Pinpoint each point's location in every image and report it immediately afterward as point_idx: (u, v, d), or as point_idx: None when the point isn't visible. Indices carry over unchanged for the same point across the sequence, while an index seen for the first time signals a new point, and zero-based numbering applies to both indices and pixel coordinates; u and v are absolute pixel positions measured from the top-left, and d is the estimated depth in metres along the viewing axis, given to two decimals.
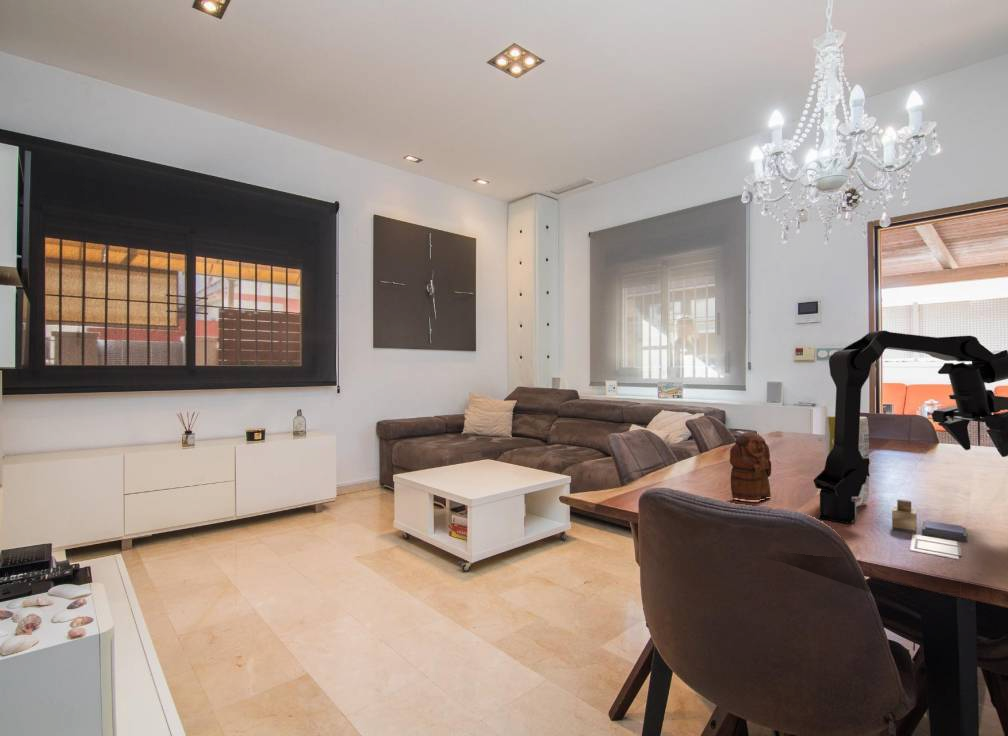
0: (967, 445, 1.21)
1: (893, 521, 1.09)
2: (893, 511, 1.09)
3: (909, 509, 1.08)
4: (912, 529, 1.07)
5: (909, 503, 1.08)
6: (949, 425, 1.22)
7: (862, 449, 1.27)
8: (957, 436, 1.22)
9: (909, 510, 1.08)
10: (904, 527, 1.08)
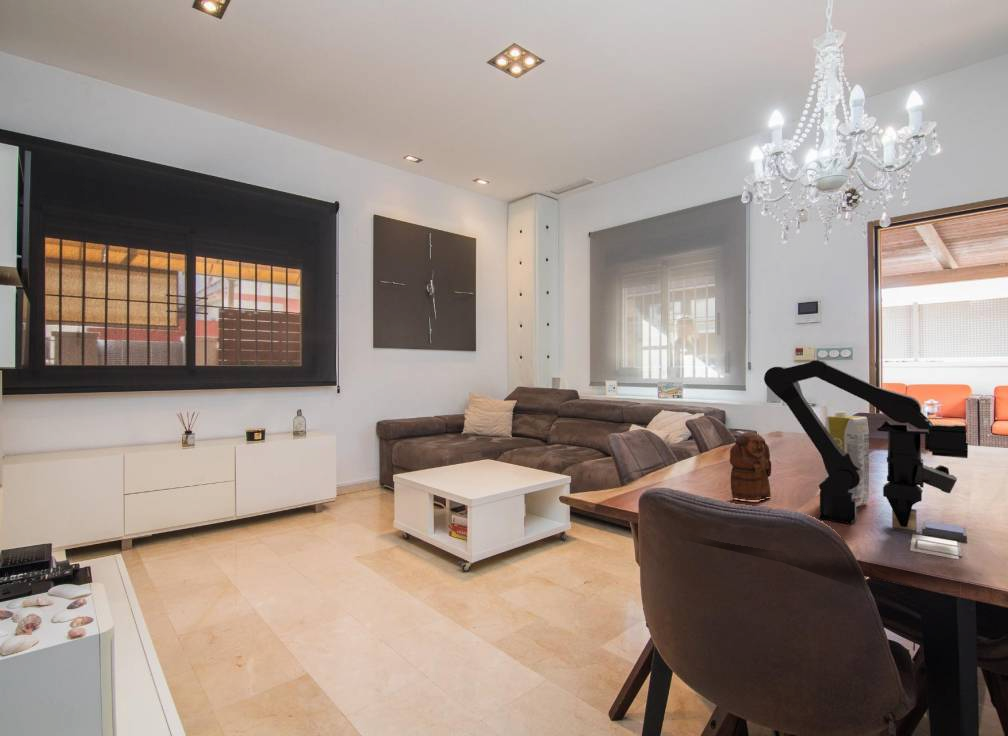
0: None
1: (893, 521, 1.09)
2: (893, 511, 1.09)
3: None
4: (912, 529, 1.07)
5: None
6: None
7: (862, 449, 1.27)
8: None
9: None
10: (904, 527, 1.08)
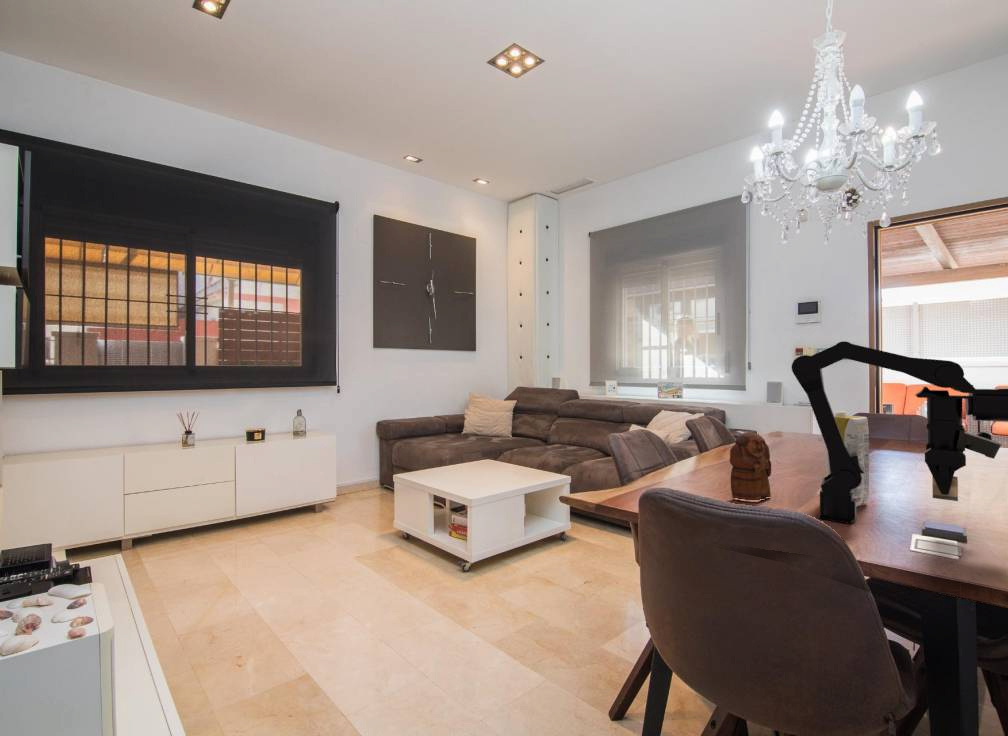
0: None
1: (933, 488, 1.06)
2: (933, 478, 1.06)
3: None
4: (953, 496, 1.04)
5: None
6: None
7: (862, 449, 1.27)
8: None
9: None
10: None
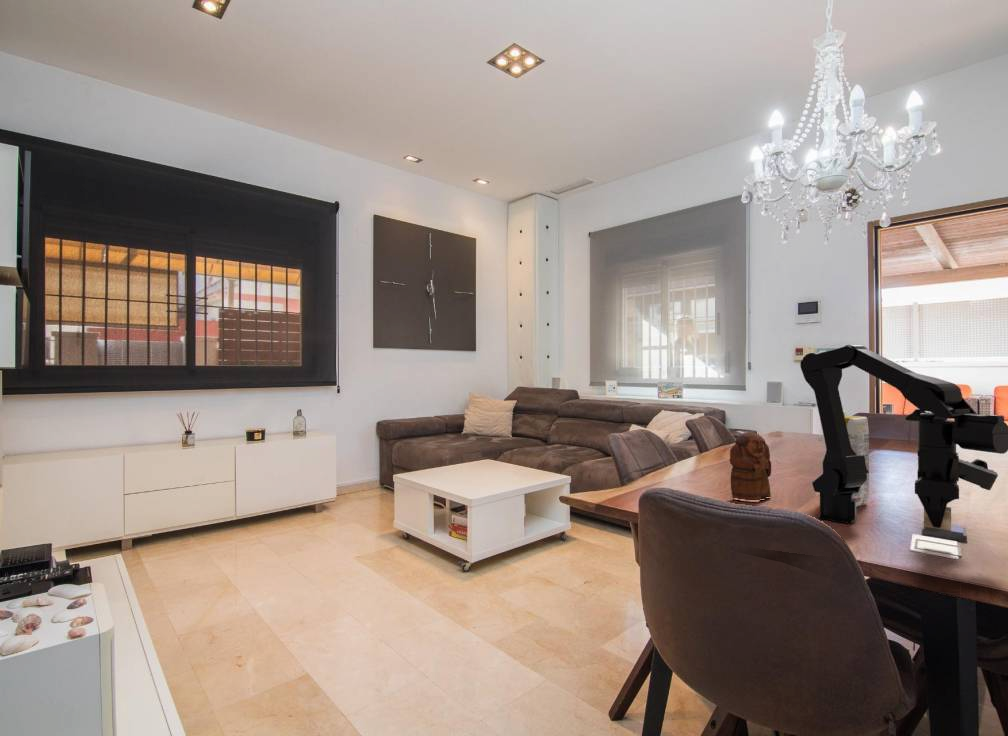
0: None
1: (925, 520, 0.98)
2: None
3: None
4: (946, 529, 0.96)
5: None
6: None
7: (862, 449, 1.27)
8: None
9: None
10: None
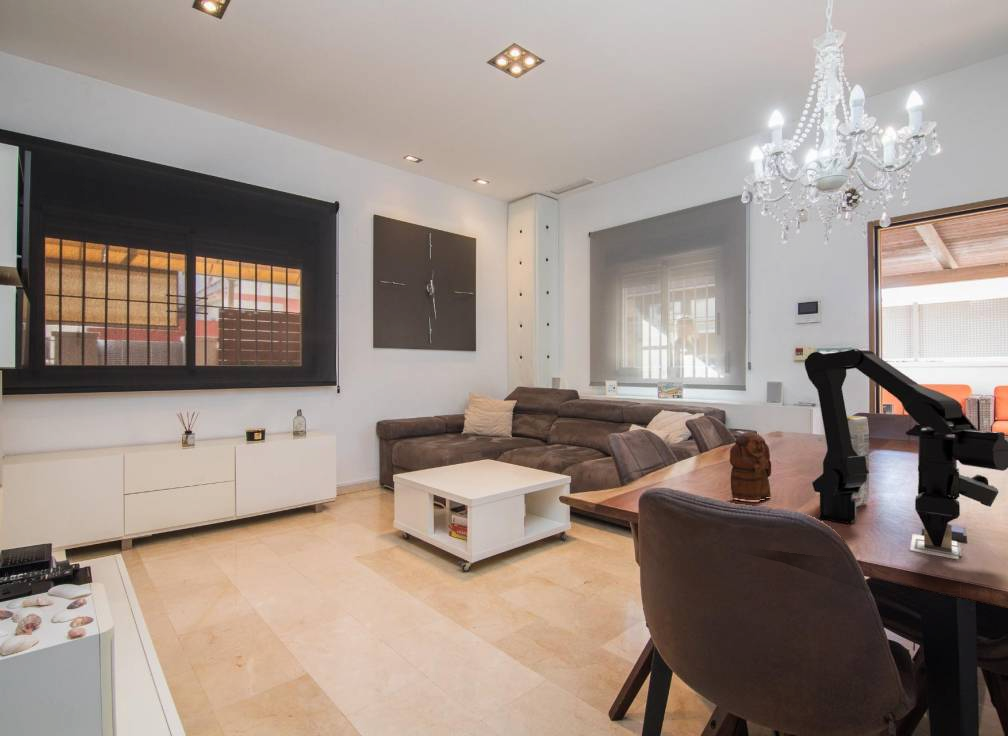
0: None
1: (925, 537, 0.98)
2: None
3: None
4: (947, 547, 0.96)
5: None
6: None
7: (862, 449, 1.27)
8: None
9: None
10: None
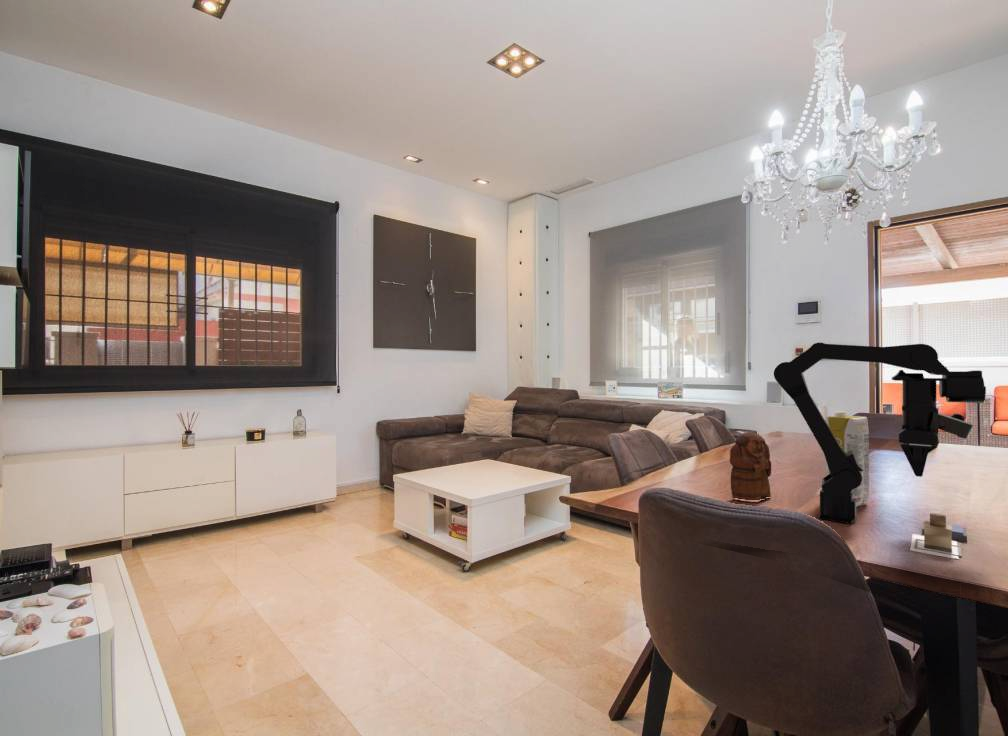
0: None
1: (925, 537, 0.98)
2: (925, 526, 0.98)
3: (943, 525, 0.97)
4: (947, 547, 0.96)
5: (943, 518, 0.97)
6: None
7: (862, 449, 1.27)
8: None
9: (943, 525, 0.97)
10: (938, 545, 0.97)
